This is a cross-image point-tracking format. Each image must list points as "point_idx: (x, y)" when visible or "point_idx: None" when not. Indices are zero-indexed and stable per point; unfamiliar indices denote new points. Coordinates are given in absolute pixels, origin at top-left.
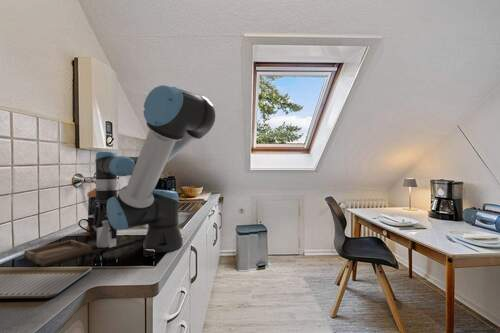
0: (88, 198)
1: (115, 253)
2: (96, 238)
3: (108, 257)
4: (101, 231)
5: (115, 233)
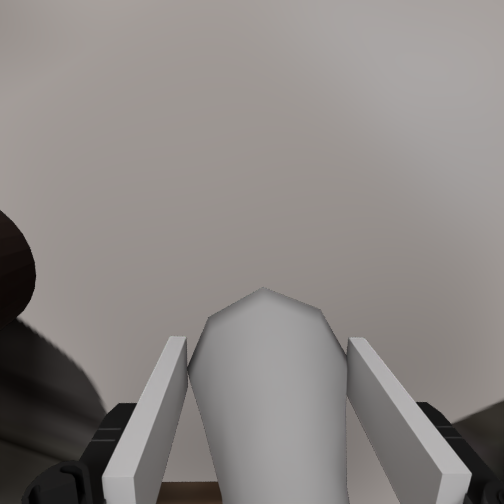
0: None
1: (486, 420)
2: (13, 319)
3: (500, 473)
4: (157, 456)
5: (473, 466)
